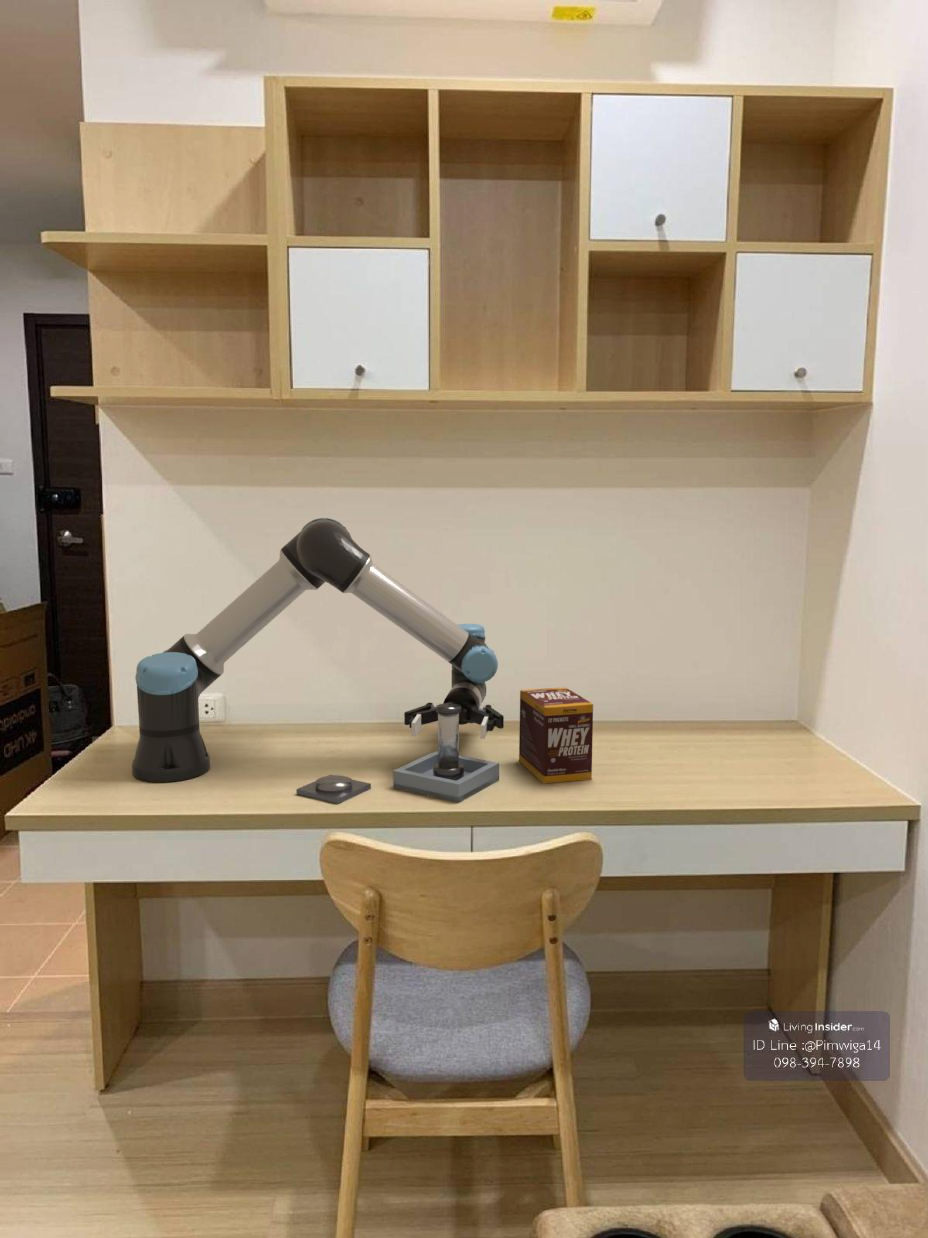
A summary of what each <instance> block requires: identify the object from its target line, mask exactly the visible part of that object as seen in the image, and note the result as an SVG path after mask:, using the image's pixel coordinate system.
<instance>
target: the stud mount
mask: <svg viewBox="0 0 928 1238" xmlns="http://www.w3.org/2000/svg"><path fill="white" fill-rule="evenodd" d="M371 789H372V783H371V782H370V783H369V782H366V781H361V780H355V779H352V778H351V777H349V776H345V775H340V774H338V775H337V774H336V775H334V774H328V775H327V776H322V777H319V778H317V779H316V780H315V781H313V782H310V783H308V784H306V785H303V786H300V787H298V788H296V795H299V796H302V795H303V797H306V798H311V799H314V800H318V799H319V801H323V802H327V803H331V802H332V804H335V805H339V804H341V803H343V802H345V801H347V800H351V799H352V798H353V797H356V796H358V795H360V794H363V793H365V792H367V791H369V790H371Z"/></svg>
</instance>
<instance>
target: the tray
mask: <svg viewBox="0 0 928 1238" xmlns="http://www.w3.org/2000/svg"><path fill="white" fill-rule="evenodd" d="M436 763H438V750H435V751H433V752H431V753H429V754H426V755H424V756H422V757H420V758H418V759H415V760H413V761H411V762H409V763H406V764H405V765H403V766H400V767H398V768H396V769H393V771H392V785H393V786H392V787H393V789H396V790H400V791H405V792H409V793H413V792H414V794H419V795H423V796H427V795H429V796H428V797H431V796H432V797H431V798H437V799H440V800H445V799H447V800H446V801H449V800H450V801H449V802H454V803H458V802H459V803H461V802H462V800H463V801H464V799H465V800H466V799H468V798H470V797H472V796H473V795H475V794H477V793H479V792H480V791H482V790H484V789H486V788H488V787H489V786H491V785H493V784H494V783H496V782H498V781H499V780H500V762H496V761H491V760H486V759H480V758H475V757H470V756H464V755H461V754H459V763H461V764H463V765H464V777H463V778H461V779H459V780H457V781H455V780H450V779H445V778H441V777H436V776H433V765H434V764H436ZM471 795H472V796H471ZM469 796H470V797H469Z"/></svg>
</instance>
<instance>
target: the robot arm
mask: <svg viewBox="0 0 928 1238" xmlns="http://www.w3.org/2000/svg"><path fill="white" fill-rule="evenodd" d="M325 583H328V584H329V585H330V586H332V587H334V588H336V590H338V591H340V592H341V593H343V594H349V593H351V594H352V595H354V596H355V597H357V598H358V599H359V600H361V601H362V602H364V603H365V604H366V605H368V606H369V608H372V609H373V610H375V611H376V612H377V613H379V614H380V615H382V616H383V617H385V618H386V619H388V621H390V622H391V623H393V624H394V625H396V626H397V627H399V628H400V629H402V630H403V631H404V632H406V634H408V635H410V636H411V637H412V638H414V639H415V640H417V641H418V642H419V643H422V645H424V646H425V647H426V648H427V649H430V650H431V651H432V652H434V653H435V654H436V655H438V656H439V657H440V658H442V659H443V660H445V661H446V662H448V663H449V664H450V665H451V688H450V691H449V692H448V693H447V695H446V697H445V699H444V700H443V703H442V704H445V703H452V704H458V705H460V706H461V712H460V713H459V726H462V725H466V724H477V725H479V726H480V739H482V740H483V739H484V740H485V739H486V737H487V733H488V732H492V731H494V729H495V727H496V728H497V729H500V730H501V729H504V719H505V718H504V715H503V714H501V713H500V712H499V711H497V710H496V709H494V708H493V707H492V704H486V705H485V706H483V707H482V708H481V705H482V703H483V702H484V700H485V697H486V696H487V684H486V682H488V681H490V680H491V679H492V678H493V677H495V676H496V674H497V671H498V667H499V662H498V659H497V658H498V657H497V655H496V654H495V651H493V649H491V648H489V646H488V645H487V644H486V634H485V632H486V631H485V627H484V626H483V625H482V624H477V623H459V624H457V623H455V622H454V621H453V620H452V619H451V618H449V617H447V616H446V615H444V614H443V613H442V612H440V611H439V610H438V609H436V608H435V607H434V606H433V605H431V604H430V603H428V602H427V601H426V600H424V599H423V598H421V597H420V596H419V595H417V594H416V593H414V592H413V591H412V590H410V589H409V588H408V587H406V586H405V585H404V584H402V583H401V582H400V581H398V580H397V579H396V578H394V577H392V576H391V575H390V574H388V573H387V572H386V571H385V570H383V569H382V568H381V567H379V566H378V565H376V564H375V563H374V562H373V559H372V555H371V554H370V553H369V552H367V551H365V550H364V549H363V548H362V547H361V546H359V545H358V544H357V543H356V541H355V540H353V537H352V536H351V534H350V532H349V531H348V529H347V527H346V526H344V525H343V524H342V523H341V522H340V521H338V520H336V519H333V518H329V517H321V518H315V519H312V520H311V521H308V522H307V523H306V524H305V525H304V526H303V527H302V529H301V530H300V531H299V532H298V533H297V534H296V535H295V536H294V537H293V538H291V540H289V541H288V542H287V543H286V544H285V545H283V547H281V549H280V550H279V558H278V561H277V562H275V563H274V564H273V565H272V566H271V567H270V568H269V569H267V571H265V572H264V573H263V574H262V575H261V576H260V577H259V578H258V579H256V580H255V581H254V582H253V583H252V584H251V585H250V586H248V587H247V588H246V589H245V590H244V591H243V592H242V593H240V595H238V596H237V597H236V598H235V599H234V600H233V601H231V602H230V604H228V605H227V606H225V608H223V610H222V611H220V612H219V613H218V614H217V615H216V616H215V617H214V618H213V619H212V620H210V621H209V622H208V623H207V624H206V625H205V626H203V628H201V629H200V630H199V631H197V633H185V634H184V635H183V636H182V637H180V638H179V639H178V640H177V641H176V642H175V643H173V645H172V646H171V647H169V648H168V649H166V650H163V652H160V653H154V654H152V655H148V656H146V657H143V658H142V659H141V660H139V662H138V663H137V666H136V669H135V670H136V672H135V673H136V674H135V684H136V693H137V694H136V695H137V697H136V698H137V710H138V711H137V712H138V713H137V714H138V727H139V729H138V730H139V737H138V738H139V739H138V742H137V746H136V750H135V754H134V758H133V760H132V763H131V767H132V768H131V769H132V771H131V773H132V776H133V777H134V778H135V779H138V780H141V781H143V782H151V783H153V782H154V783H167V782H168V783H169V782H180V781H184V780H190V779H193V778H196V777H199V776H201V775H203V774H206V773H207V772H208V771H210V769H211V758H210V754H209V753H208V750H207V747H206V745H205V741H204V738H203V737H202V734H201V730H200V728H201V727H200V710H199V709H200V708H199V699H200V696H201V694H202V693H204V691H205V690H207V688H208V687H210V686H211V685H212V684H213V683H214V682H215V681H216V680H217V679H218V678H220V677H221V676H223V674H224V671H225V669H224V668H225V663H226V662H227V661H228V660H229V659H230V658H231V657H232V656H233V655H234V654H236V653H237V652H238V651H239V650H241V648H243V647H244V646H245V645H246V644H247V643H248V642H250V640H252V639H253V638H254V637H255V636H256V635H258V633H260V632H261V631H262V630H264V628H265V627H266V626H267V625H268V624H269V623H271V622H273V620H274V619H275V618H276V617H278V616H279V615H280V614H281V613H282V612H283V611H285V609H286V608H287V607H289V606H290V605H291V604H292V603H293V602H294V601H296V600H297V598H299V597H300V596H301V595H302V594H303V593H304V592H305V591H308V590H313V591H315V590H316V591H317V590H318V589H320V587H322V586H323V585H324V584H325ZM403 717H404V718H403V719H404V725H405V726H409V728H410V729H411V737H416V736H418V735H417V734H418V733H419V732H420V730H421V729H422V726H423V725H427V724H431V723H436V722H438V713H437V712H436V706H434V704H433V702H431V701H429V702H426V704H424V705H421V706H418V707H416V708H413V709H410V710H408V711H405V712H404V716H403Z"/></svg>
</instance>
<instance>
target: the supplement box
mask: <svg viewBox="0 0 928 1238" xmlns="http://www.w3.org/2000/svg"><path fill="white" fill-rule="evenodd" d="M519 691H520V692H519V735H518V736H519V743H518V746H519V749H518V750H519V751H518V761H519V762H520V763H521V764H522V765H523V766H524V767H525V768H526V769H527V768H528V769H527V770H528V771H529V772H530V773H532V774H533V775H534V776H535V777H536V778H537V779H538V780H539V781H540V782H541V781H542V782H541V783H543V784H544V785H545V784H553V783H554V784H556V783H564V782H573V781H574V782H575V781H586V780H592V775H593V774H592V772H593V735H594V734H593V733H594V732H593V730H594V729H593V727H594V724H593V723H594V721H593V720H594V703H593V702H590V701H588V700H587V699H586V698H584V697H582V696H581V695H579V694H577V693H576V692H575V691H572V690H570V688H568V687H549V688H534V689H520V690H519Z"/></svg>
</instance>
